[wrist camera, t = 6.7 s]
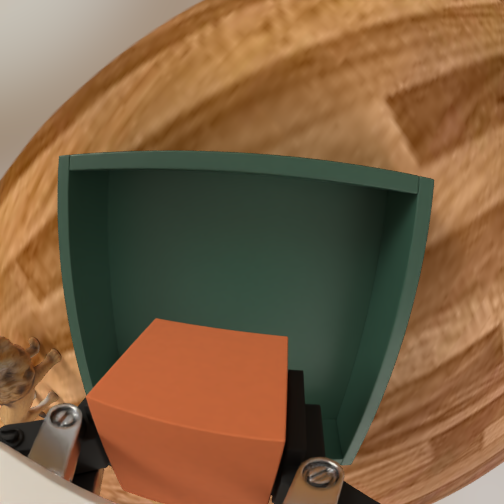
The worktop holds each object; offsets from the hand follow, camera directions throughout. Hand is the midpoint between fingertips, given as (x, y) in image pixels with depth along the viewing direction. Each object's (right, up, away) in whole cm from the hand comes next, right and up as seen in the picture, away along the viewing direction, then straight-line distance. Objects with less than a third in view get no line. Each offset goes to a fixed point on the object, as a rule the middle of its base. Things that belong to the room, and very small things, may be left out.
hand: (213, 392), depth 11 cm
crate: (0, +2, +7) cm, 7 cm away
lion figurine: (-18, -5, +11) cm, 22 cm away
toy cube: (0, 0, +1) cm, 1 cm away
